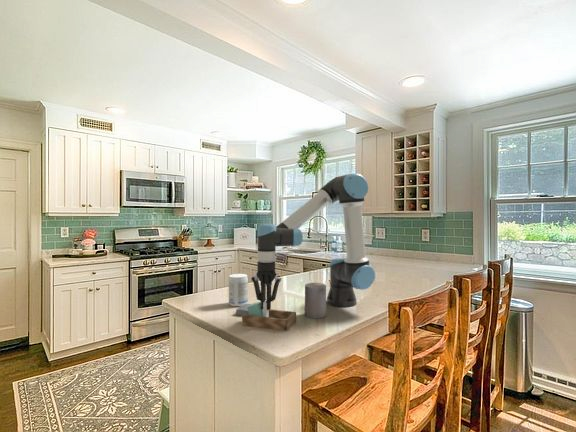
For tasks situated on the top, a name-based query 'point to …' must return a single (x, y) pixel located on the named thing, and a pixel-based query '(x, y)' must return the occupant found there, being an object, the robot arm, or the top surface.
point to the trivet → (242, 310)
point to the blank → (255, 309)
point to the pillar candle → (315, 300)
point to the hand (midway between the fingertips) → (265, 317)
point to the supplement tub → (238, 290)
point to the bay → (271, 320)
